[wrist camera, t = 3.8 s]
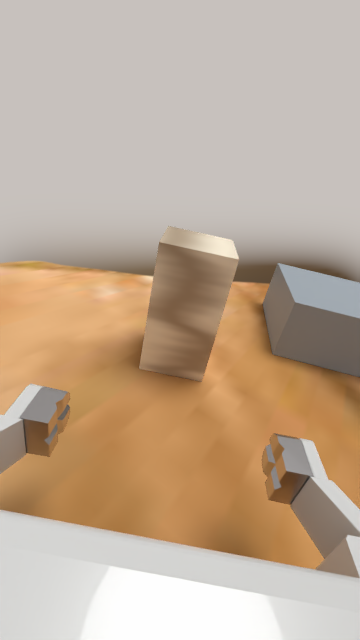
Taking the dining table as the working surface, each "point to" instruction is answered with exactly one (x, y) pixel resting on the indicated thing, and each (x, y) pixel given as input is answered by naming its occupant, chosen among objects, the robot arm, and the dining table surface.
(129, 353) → the dining table surface
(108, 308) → the dining table surface
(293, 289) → the slate block
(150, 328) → the birch block
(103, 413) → the dining table surface
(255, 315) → the dining table surface
